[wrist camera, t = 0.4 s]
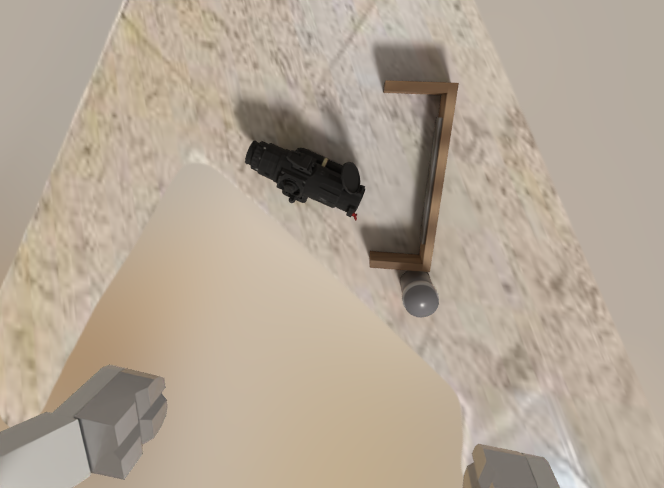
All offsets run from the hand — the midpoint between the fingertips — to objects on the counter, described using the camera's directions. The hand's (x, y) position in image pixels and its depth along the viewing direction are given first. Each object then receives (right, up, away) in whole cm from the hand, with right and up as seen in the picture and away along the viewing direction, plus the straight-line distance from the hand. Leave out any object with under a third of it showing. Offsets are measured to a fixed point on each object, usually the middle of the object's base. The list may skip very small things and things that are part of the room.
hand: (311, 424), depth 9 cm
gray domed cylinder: (+15, -2, +49) cm, 51 cm away
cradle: (+12, +14, +44) cm, 47 cm away
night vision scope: (-3, +16, +45) cm, 48 cm away
